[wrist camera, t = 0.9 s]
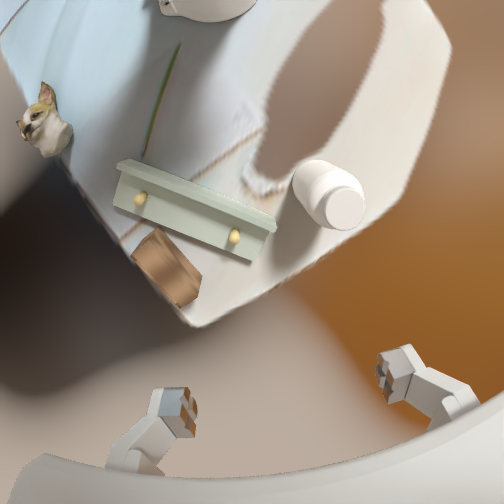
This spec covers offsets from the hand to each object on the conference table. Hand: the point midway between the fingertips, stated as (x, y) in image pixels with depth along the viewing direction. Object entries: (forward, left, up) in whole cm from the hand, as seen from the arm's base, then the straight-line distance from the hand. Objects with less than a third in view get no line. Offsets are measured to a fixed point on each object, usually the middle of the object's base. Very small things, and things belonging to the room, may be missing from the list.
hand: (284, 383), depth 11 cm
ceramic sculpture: (-28, -26, -38) cm, 54 cm away
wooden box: (+5, -18, -38) cm, 42 cm away
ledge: (-1, -10, -38) cm, 39 cm away
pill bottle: (+4, +10, -38) cm, 39 cm away
